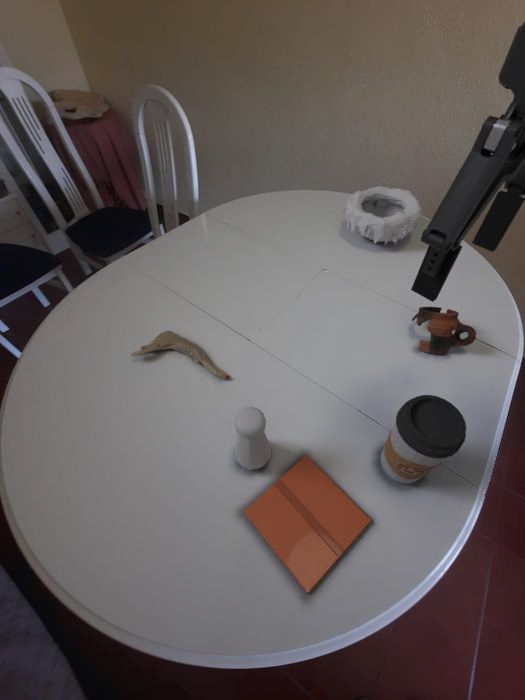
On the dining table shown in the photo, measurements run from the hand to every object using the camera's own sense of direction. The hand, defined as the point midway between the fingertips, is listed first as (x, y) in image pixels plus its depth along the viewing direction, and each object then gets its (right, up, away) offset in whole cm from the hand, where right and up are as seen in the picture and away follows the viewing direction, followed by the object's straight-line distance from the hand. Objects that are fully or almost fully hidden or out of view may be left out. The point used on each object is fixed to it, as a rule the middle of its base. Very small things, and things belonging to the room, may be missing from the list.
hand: (455, 269), depth 40 cm
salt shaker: (-24, -27, +15) cm, 40 cm away
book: (-16, -34, +9) cm, 39 cm away
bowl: (+10, +24, +57) cm, 63 cm away
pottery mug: (+14, -8, +31) cm, 35 cm away
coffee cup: (-1, -28, +14) cm, 31 cm away
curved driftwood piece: (-39, -13, +28) cm, 50 cm away
